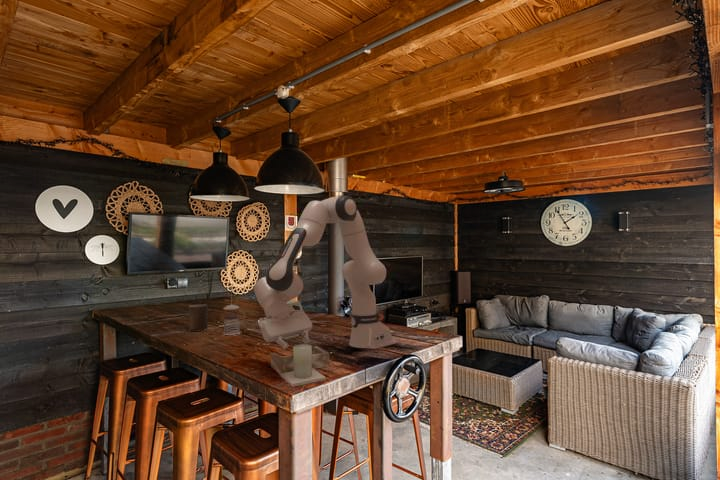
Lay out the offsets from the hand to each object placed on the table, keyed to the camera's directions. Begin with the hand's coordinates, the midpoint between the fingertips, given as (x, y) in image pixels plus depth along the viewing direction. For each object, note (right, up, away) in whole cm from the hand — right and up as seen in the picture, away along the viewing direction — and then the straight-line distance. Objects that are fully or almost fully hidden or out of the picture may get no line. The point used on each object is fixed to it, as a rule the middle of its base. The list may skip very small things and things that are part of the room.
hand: (297, 345), depth 137 cm
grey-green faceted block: (-15, -12, +60) cm, 62 cm away
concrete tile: (+2, -11, -2) cm, 11 cm away
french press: (-45, -12, +68) cm, 82 cm away
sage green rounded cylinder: (+2, -10, -2) cm, 10 cm away
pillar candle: (-68, -13, +77) cm, 104 cm away
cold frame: (-1, -11, +11) cm, 16 cm away
